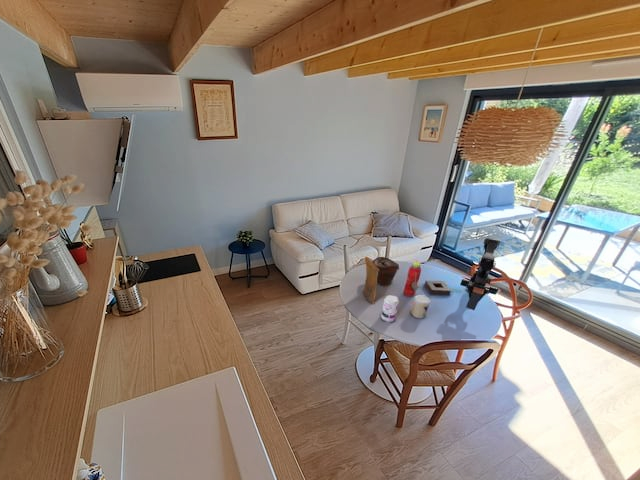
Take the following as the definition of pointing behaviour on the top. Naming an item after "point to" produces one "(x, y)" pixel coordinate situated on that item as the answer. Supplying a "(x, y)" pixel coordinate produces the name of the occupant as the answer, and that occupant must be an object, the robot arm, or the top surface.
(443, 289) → the base pad
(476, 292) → the pad post
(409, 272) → the water bottle
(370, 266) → the pancake mix bag
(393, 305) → the supplement can
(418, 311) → the coffee cup
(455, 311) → the top surface
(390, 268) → the brown flower pot
